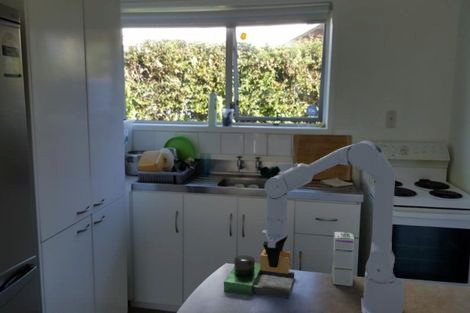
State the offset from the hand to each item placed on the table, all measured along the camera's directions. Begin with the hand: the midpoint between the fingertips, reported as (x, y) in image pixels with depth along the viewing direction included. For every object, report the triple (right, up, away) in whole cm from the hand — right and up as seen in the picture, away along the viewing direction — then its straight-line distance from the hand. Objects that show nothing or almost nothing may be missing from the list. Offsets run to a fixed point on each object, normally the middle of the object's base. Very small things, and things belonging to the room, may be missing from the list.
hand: (275, 262), depth 111 cm
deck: (-4, -7, +1) cm, 8 cm away
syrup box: (+21, -7, +4) cm, 22 cm away
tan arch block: (0, -2, 0) cm, 2 cm away
